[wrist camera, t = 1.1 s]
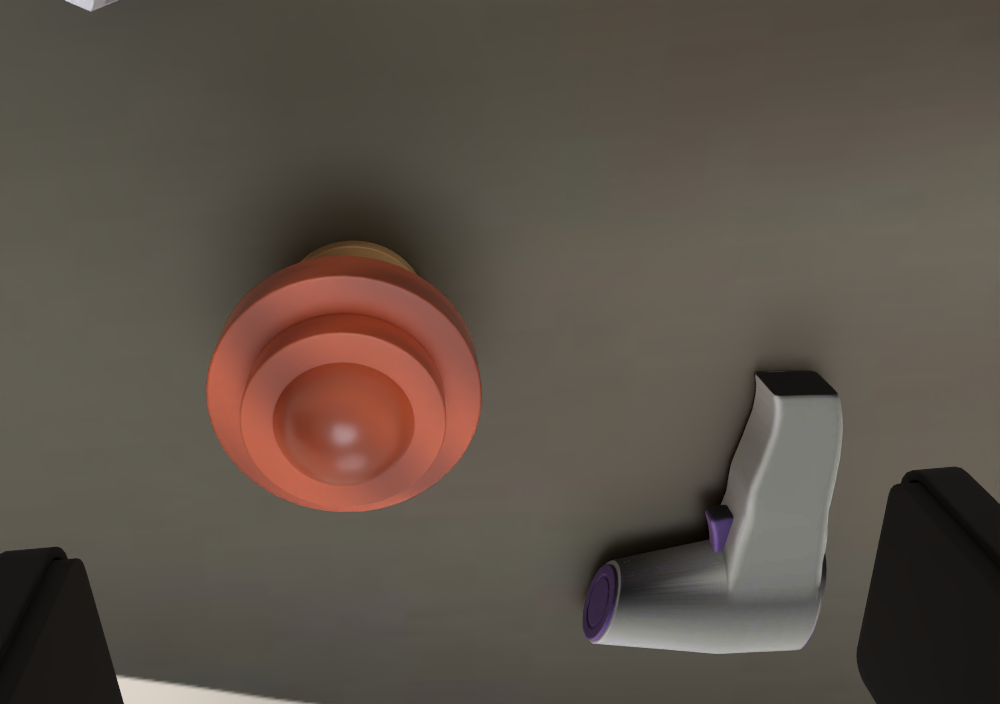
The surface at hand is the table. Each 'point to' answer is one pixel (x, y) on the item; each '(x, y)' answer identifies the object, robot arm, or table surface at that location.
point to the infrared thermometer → (740, 541)
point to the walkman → (91, 3)
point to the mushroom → (345, 381)
